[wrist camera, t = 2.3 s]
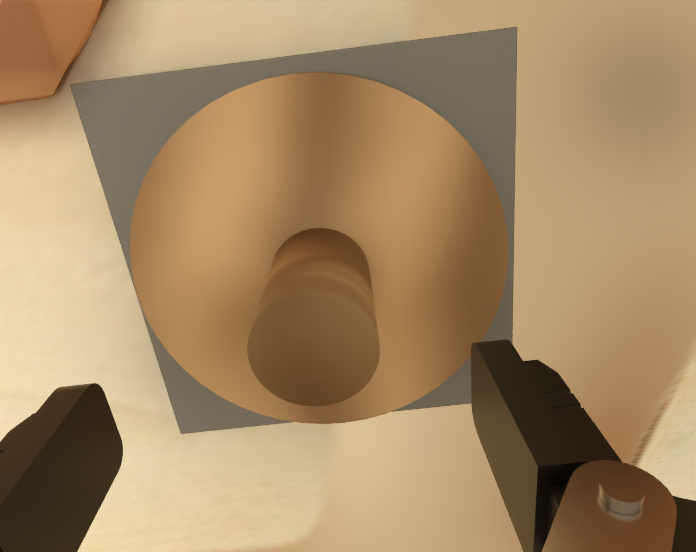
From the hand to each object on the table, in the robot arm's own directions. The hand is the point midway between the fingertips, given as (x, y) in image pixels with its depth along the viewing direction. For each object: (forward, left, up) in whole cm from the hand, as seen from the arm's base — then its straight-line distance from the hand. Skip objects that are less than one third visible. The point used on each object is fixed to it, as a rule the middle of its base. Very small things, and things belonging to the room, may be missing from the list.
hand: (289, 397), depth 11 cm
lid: (0, 0, -8) cm, 8 cm away
